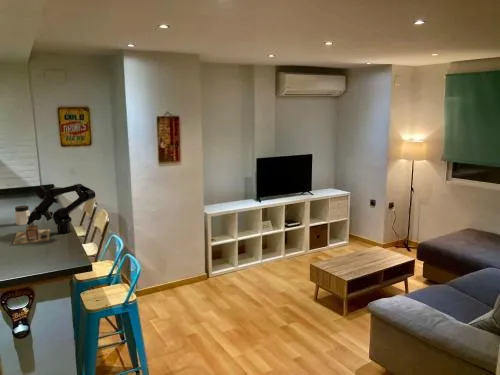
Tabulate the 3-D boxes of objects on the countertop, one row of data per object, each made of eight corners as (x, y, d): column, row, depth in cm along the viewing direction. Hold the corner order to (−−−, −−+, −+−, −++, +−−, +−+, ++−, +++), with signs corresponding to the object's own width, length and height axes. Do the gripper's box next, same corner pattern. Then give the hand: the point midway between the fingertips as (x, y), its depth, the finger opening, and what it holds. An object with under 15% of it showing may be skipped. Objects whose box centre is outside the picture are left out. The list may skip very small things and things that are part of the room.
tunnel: (39, 235, 252) (37, 225, 251) (38, 239, 244) (37, 228, 243) (28, 237, 249) (26, 226, 248) (27, 240, 242) (25, 229, 241)
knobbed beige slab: (39, 230, 264) (37, 214, 263) (37, 238, 246) (35, 221, 245) (28, 231, 262) (26, 215, 260) (26, 239, 244) (24, 222, 242)
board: (49, 230, 268) (49, 228, 268) (49, 240, 246) (48, 238, 246) (17, 234, 261) (17, 232, 261) (13, 244, 238) (13, 243, 238)
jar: (14, 224, 286) (12, 207, 284) (25, 221, 293) (23, 205, 291) (21, 225, 282) (19, 208, 280) (33, 222, 289) (31, 206, 287)
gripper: (55, 215, 255) (37, 234, 253) (58, 209, 272) (41, 227, 270) (39, 203, 251) (21, 223, 249) (43, 198, 268) (26, 216, 267)
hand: (28, 223), depth 259 cm, fingers open, 7 cm apart
